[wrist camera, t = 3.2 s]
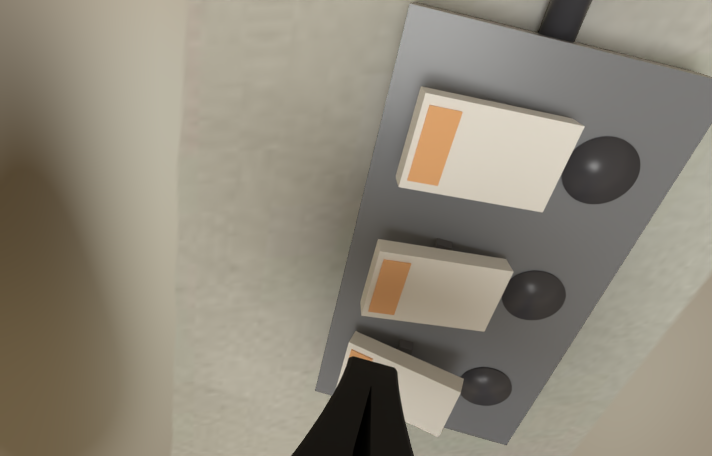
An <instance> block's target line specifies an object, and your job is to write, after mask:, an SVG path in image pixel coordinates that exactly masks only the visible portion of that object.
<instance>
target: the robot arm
mask: <svg viewBox="0 0 712 456" xmlns="http://www.w3.org/2000/svg"><path fill="white" fill-rule="evenodd" d="M291 456H414V455H413V451H412V447H411V444H410V439H409V435H408V431H407V427H406V423H405V419H404V414H403V409H402V403H401V398H400V391H399V384H398V372H397V370H396V369H395V368H394V367H391V366H387V365H383V364H380V363H376V362H373V361H369V360H365V359H362V358H358V357H355V356H352V357H350V358H348V362H347V365H346V368H345V370H344V373H343V375H342V377H341V380H340V382H339V384H338V386H337V387H336V389H335V391H334V393H333V395H332V397H331V398H330V400H329V402H328V403H327V405H326V407H325V408H324V410H323V412H322V413H321V415H320V416H319V418H318V419H317V421H316V422H315V424H314V425H313V427H312V428H311V429H310V431H309V432H308V434H307V435H306V437H305V438H304V439H303V441H302V442H301V444H300V445H299V446H298V448H297V449H296V450H295V452H294V453H293V454H292V455H291Z"/></svg>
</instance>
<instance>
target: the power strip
mask: <svg viewBox="0 0 712 456" xmlns="http://www.w3.org/2000/svg"><path fill="white" fill-rule="evenodd" d="M591 2H592V0H551V2H550V4H549V7H548V9H547V12H546V14H545V17H544V20H543V22H542V25H541V27H540V30H539V32H538V33H537V32H533V31H529V30H525V29H521V28H517V27H513V26H509V25H505V24H501V23H497V22H493V21H489V20H485V19H481V18H477V17H472V16H468V15H464V14H460V13H456V12H452V11H448V10H444V9H440V8H436V7H432V6H428V5H424V4H420V3H416V2H412V3H410V5H409V9H408V13H407V18H406V22H405V26H404V30H403V34H402V38H401V42H400V46H399V50H398V54H397V58H396V62H395V66H394V71H393V75H392V79H391V83H390V87H389V91H388V95H387V99H386V103H385V107H384V111H383V115H382V119H381V124H380V128H379V132H378V136H377V140H376V144H375V148H374V152H373V156H372V160H371V164H370V168H369V173H368V177H367V181H366V185H365V189H364V193H363V197H362V201H361V205H360V209H359V213H358V217H357V221H356V226H355V230H354V234H353V238H352V242H351V246H350V250H349V254H348V258H347V262H346V266H345V270H344V274H343V279H342V283H341V287H340V291H339V295H338V299H337V303H336V307H335V311H334V315H333V319H332V323H331V327H330V332H329V336H328V340H327V344H326V348H325V352H324V356H323V360H322V364H321V368H320V372H319V376H318V381H317V385H316V389H315V391H318V392H321V393H325V394H328V395H333V393H334V391H335V389H336V386H337V383H338V379H339V375H340V372H341V368H342V365H343V361H344V358H345V354H346V350H347V347H348V343H349V341H350V339H351V338H352V336H353V334H354V333H355V331H357V332H359V333H361V334H364V335H366V336H368V337H370V338H373V339H375V340H377V341H379V342H382V343H384V344H386V345H388V346H391V347H393V348H395V349H397V350H400V351H402V352H404V353H406V354H409V355H411V356H413V357H415V358H418V359H420V360H422V361H425V362H427V363H429V364H431V365H434V366H436V367H438V368H440V369H443V370H445V371H447V372H449V373H452V374H454V375H456V376H458V377H461V378H463V379H464V380H463V385H462V390H461V393H460V395H459V397H458V399H457V401H456V403H455V405H454V407H453V409H452V411H451V413H450V415H449V417H448V419H447V421H446V423H445V425H444V428H448V429H451V430H455V431H458V432H462V433H465V434H469V435H472V436H476V437H479V438H483V439H486V440H490V441H493V442H497V443H500V444H504V445H507V443H508V442H509V440H510V439H511V437H512V436H513V434H514V432H515V431H516V429H517V428H518V426H519V425H520V423H521V422H522V420H523V418H524V417H525V415H526V414H527V412H528V411H529V409H530V407H531V406H532V404H533V403H534V401H535V400H536V398H537V396H538V395H539V393H540V392H541V390H542V389H543V387H544V385H545V384H546V382H547V381H548V379H549V378H550V376H551V375H552V373H553V371H554V370H555V368H556V367H557V365H558V364H559V362H560V360H561V359H562V357H563V356H564V354H565V353H566V351H567V349H568V348H569V346H570V345H571V343H572V342H573V340H574V338H575V337H576V335H577V334H578V332H579V331H580V329H581V328H582V326H583V324H584V323H585V321H586V320H587V318H588V317H589V315H590V313H591V312H592V310H593V309H594V307H595V306H596V304H597V302H598V301H599V299H600V298H601V296H602V295H603V293H604V291H605V290H606V288H607V287H608V285H609V284H610V282H611V281H612V279H613V277H614V276H615V274H616V273H617V271H618V270H619V268H620V266H621V265H622V263H623V262H624V260H625V259H626V257H627V255H628V254H629V252H630V251H631V249H632V248H633V246H634V244H635V243H636V241H637V240H638V238H639V237H640V235H641V234H642V232H643V230H644V229H645V227H646V226H647V224H648V223H649V221H650V219H651V218H652V216H653V215H654V213H655V212H656V210H657V208H658V207H659V205H660V204H661V202H662V201H663V199H664V197H665V196H666V194H667V193H668V191H669V190H670V188H671V187H672V185H673V183H674V182H675V180H676V179H677V177H678V176H679V174H680V172H681V171H682V169H683V168H684V166H685V165H686V163H687V161H688V160H689V158H690V157H691V155H692V154H693V152H694V150H695V149H696V147H697V146H698V144H699V143H700V141H701V140H702V138H703V136H704V135H705V133H706V132H707V130H708V129H709V127H710V125H711V124H712V77H710V76H707V75H704V74H701V73H697V72H694V71H690V70H686V69H682V68H678V67H674V66H670V65H666V64H662V63H658V62H654V61H650V60H646V59H642V58H638V57H634V56H630V55H626V54H622V53H618V52H614V51H610V50H606V49H601V48H597V47H593V46H589V45H585V44H581V43H577V42H574V41H575V39H576V36H577V34H578V32H579V30H580V27H581V25H582V23H583V20H584V18H585V16H586V13H587V11H588V9H589V6H590V4H591ZM421 86H422V87H427V88H432V89H436V90H441V91H446V92H450V93H455V94H460V95H465V96H469V97H474V98H479V99H483V100H488V101H493V102H497V103H502V104H507V105H512V106H516V107H521V108H526V109H530V110H535V111H540V112H544V113H549V114H554V115H559V116H563V117H568V118H572V119H574V120H576V121H577V122H579V123H580V124H582V125H583V126H585V127H584V129H583V131H582V133H581V135H580V137H579V139H578V141H577V143H576V146H575V148H574V150H573V152H572V154H571V156H570V158H569V160H568V162H567V164H566V166H565V168H564V170H563V172H562V174H561V176H560V178H559V180H558V182H557V184H556V186H555V188H554V190H553V192H552V195H551V197H550V199H549V201H548V203H547V205H546V207H545V209H544V211H543V212H537V211H531V210H526V209H520V208H514V207H509V206H503V205H497V204H492V203H486V202H480V201H475V200H469V199H463V198H458V197H452V196H446V195H441V194H435V193H429V192H424V191H418V190H412V189H407V188H401V187H398V184H397V180H396V173H397V169H398V166H399V162H400V159H401V155H402V152H403V148H404V145H405V141H406V137H407V134H408V130H409V127H410V123H411V120H412V116H413V112H414V109H415V105H416V102H417V98H418V95H419V91H420V88H421ZM378 239H382V240H388V241H395V242H401V243H407V244H414V245H420V246H426V247H433V248H439V249H445V250H452V251H458V252H464V253H471V254H477V255H483V256H490V257H496V258H502V259H506V260H507V261H508V263H509V265H510V266H511V268H512V270H513V274H512V276H511V278H510V280H509V282H508V284H507V286H506V288H505V290H504V293H503V295H502V297H501V299H500V301H499V303H498V305H497V307H496V309H495V311H494V313H493V315H492V317H491V319H490V321H489V323H488V325H487V327H486V329H485V331H484V332H483V331H475V330H467V329H460V328H452V327H444V326H437V325H429V324H421V323H414V322H406V321H398V320H391V319H383V318H375V317H368V316H361V304H360V301H361V298H362V294H363V290H364V287H365V283H366V280H367V276H368V273H369V269H370V266H371V262H372V258H373V255H374V251H375V248H376V244H377V241H378Z"/></svg>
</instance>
